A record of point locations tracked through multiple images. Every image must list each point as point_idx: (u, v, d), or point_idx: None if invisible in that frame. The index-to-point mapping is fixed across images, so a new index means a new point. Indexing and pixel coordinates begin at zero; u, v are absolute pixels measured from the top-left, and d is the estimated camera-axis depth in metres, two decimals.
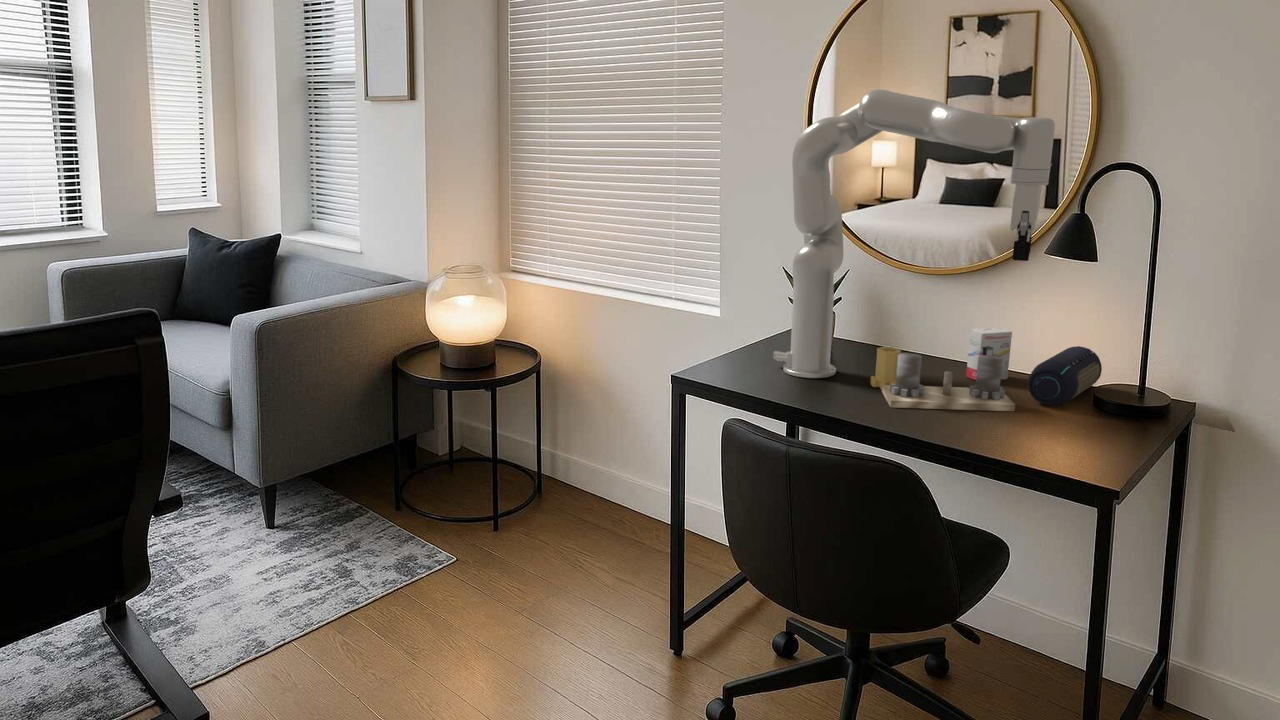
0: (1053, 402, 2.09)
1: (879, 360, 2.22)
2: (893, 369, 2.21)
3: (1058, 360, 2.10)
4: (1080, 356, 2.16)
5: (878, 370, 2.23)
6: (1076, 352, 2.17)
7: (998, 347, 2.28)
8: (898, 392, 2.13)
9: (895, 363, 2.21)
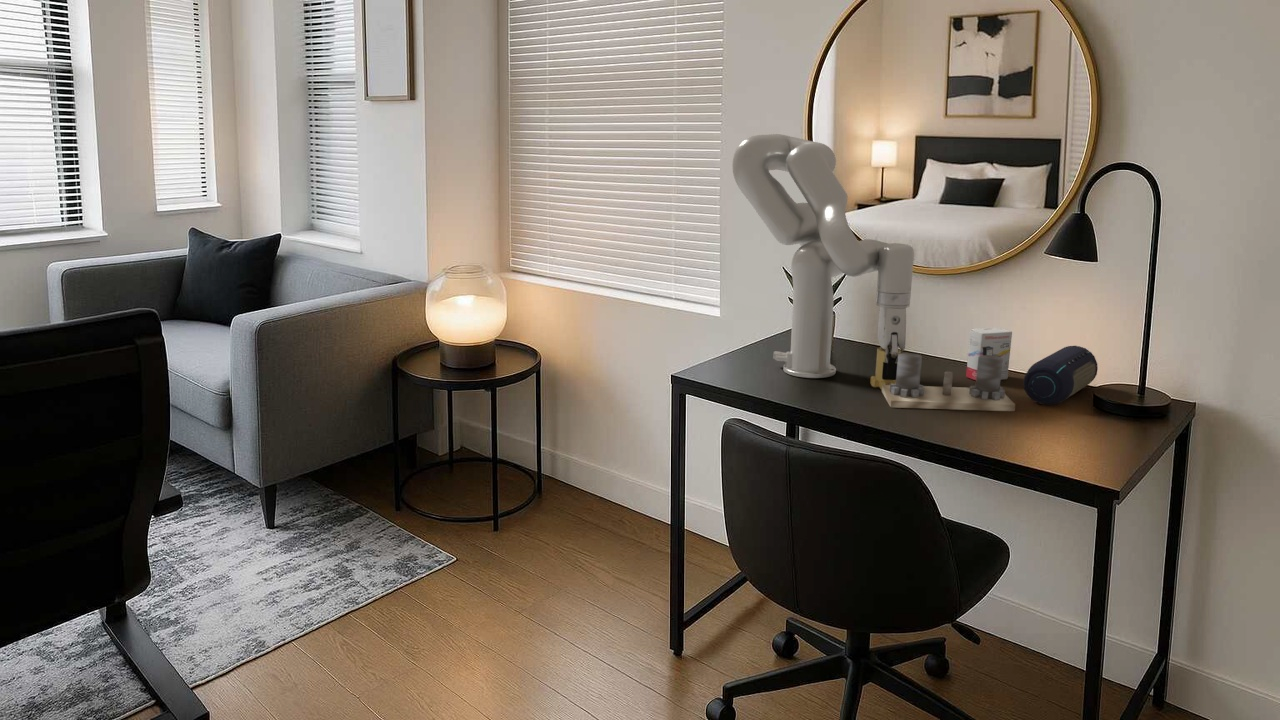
0: (1049, 401, 2.10)
1: (879, 360, 2.22)
2: None
3: (1054, 359, 2.11)
4: (1076, 355, 2.16)
5: (878, 370, 2.23)
6: (1072, 351, 2.18)
7: (998, 347, 2.28)
8: (898, 392, 2.13)
9: None
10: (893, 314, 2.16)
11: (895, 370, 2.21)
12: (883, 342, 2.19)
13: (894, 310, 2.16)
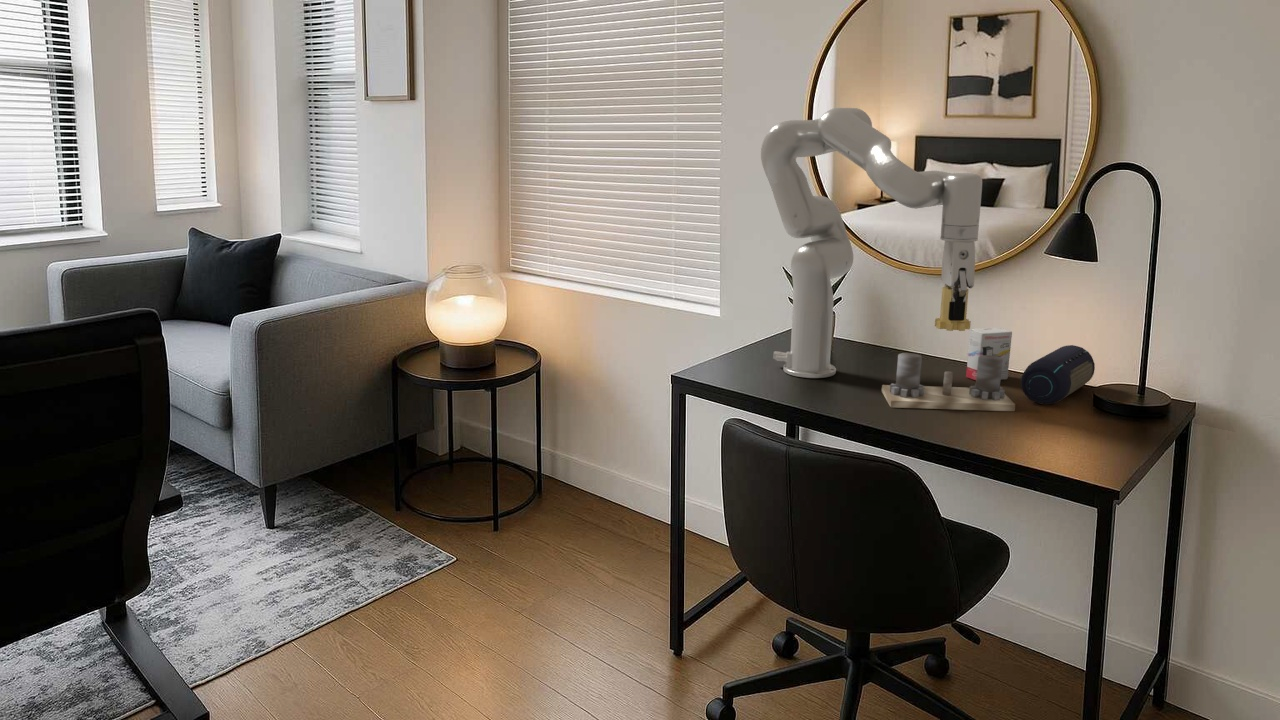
0: (1046, 400, 2.10)
1: (945, 300, 2.07)
2: None
3: (1051, 359, 2.11)
4: (1073, 355, 2.16)
5: (944, 310, 2.08)
6: (1069, 351, 2.18)
7: (998, 347, 2.28)
8: (898, 392, 2.13)
9: None
10: (961, 248, 2.01)
11: (963, 310, 2.05)
12: (950, 279, 2.03)
13: (962, 244, 2.01)
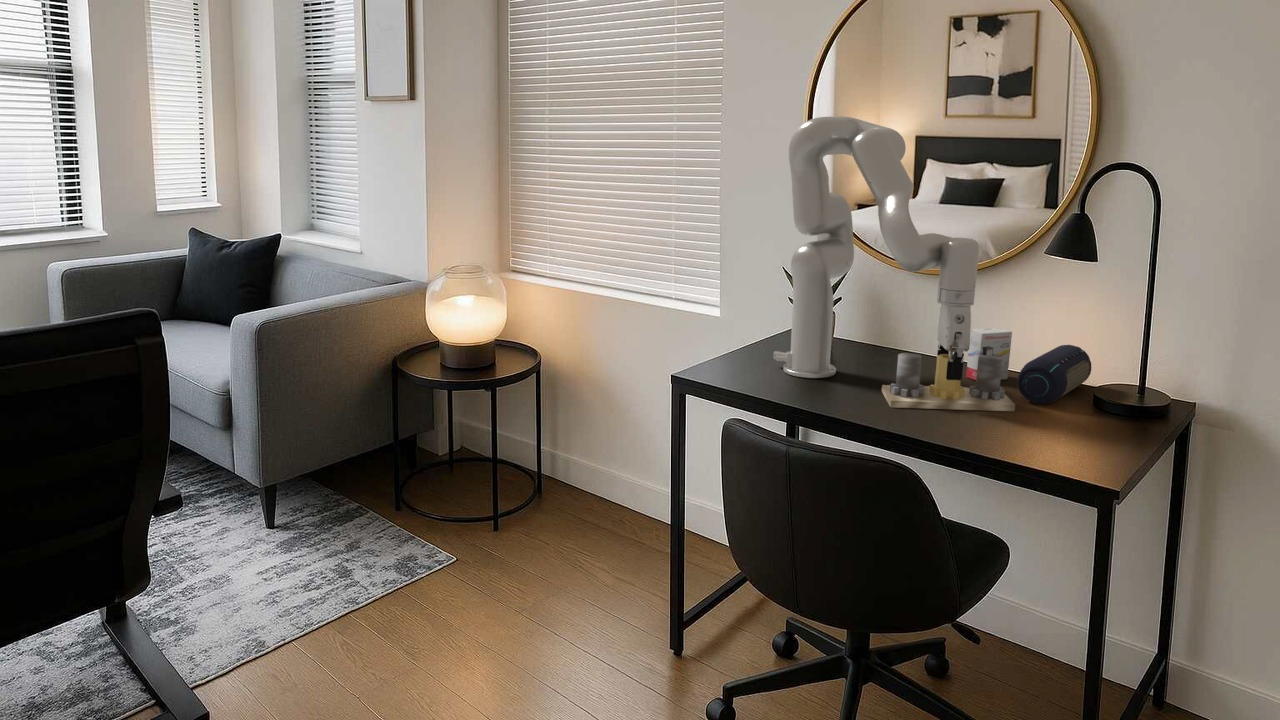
0: (1042, 399, 2.10)
1: (940, 368, 2.11)
2: None
3: (1047, 358, 2.11)
4: (1069, 354, 2.17)
5: (938, 378, 2.11)
6: (1066, 350, 2.18)
7: (998, 347, 2.28)
8: (898, 392, 2.13)
9: None
10: (957, 313, 2.04)
11: (960, 370, 2.06)
12: (946, 342, 2.06)
13: (958, 308, 2.04)
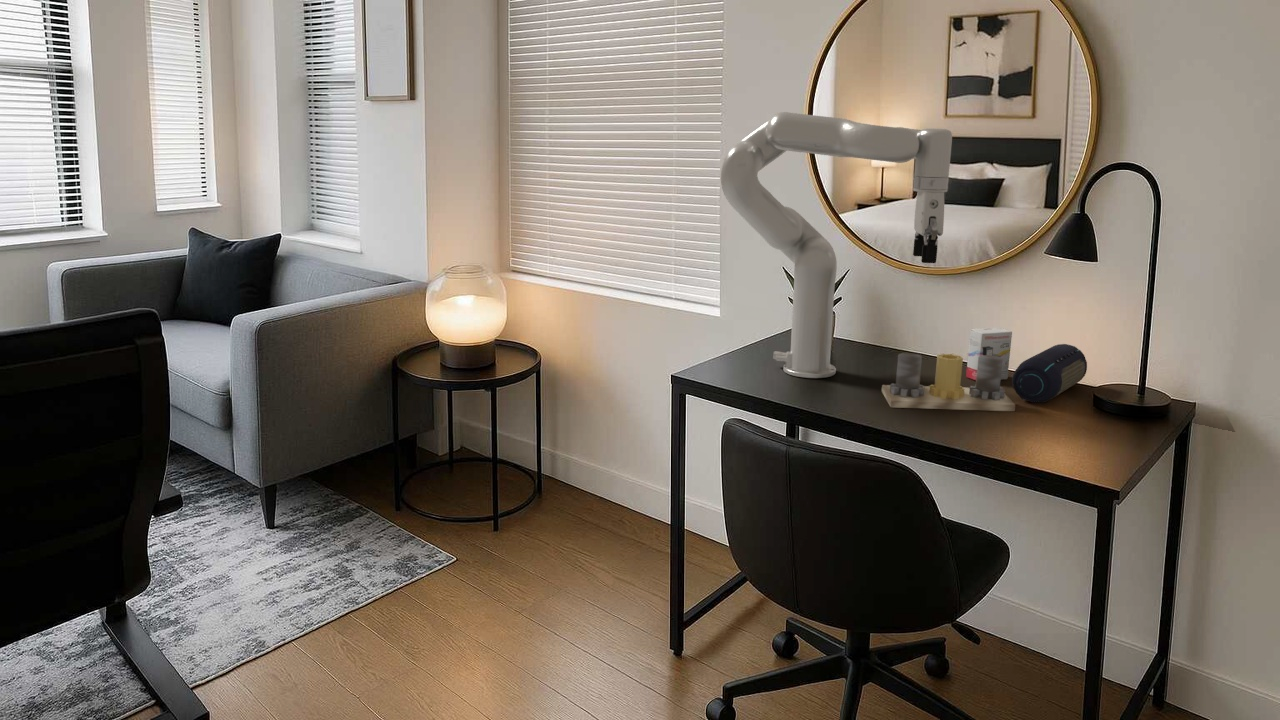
0: (1037, 398, 2.11)
1: (940, 368, 2.11)
2: (955, 377, 2.10)
3: (1042, 357, 2.12)
4: (1065, 354, 2.17)
5: (938, 378, 2.11)
6: (1061, 350, 2.19)
7: (998, 347, 2.28)
8: (898, 392, 2.13)
9: (957, 371, 2.10)
10: (931, 198, 2.17)
11: (935, 253, 2.19)
12: (921, 227, 2.19)
13: (932, 194, 2.17)
